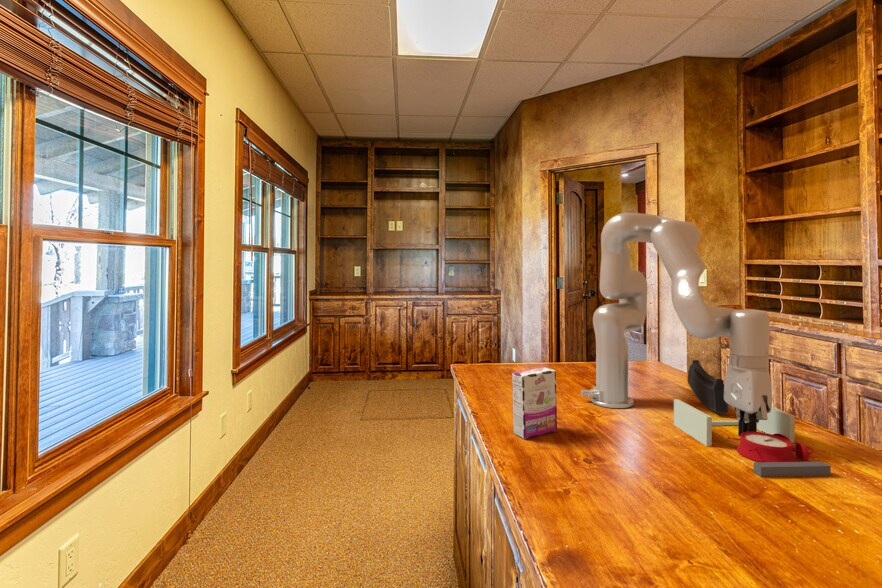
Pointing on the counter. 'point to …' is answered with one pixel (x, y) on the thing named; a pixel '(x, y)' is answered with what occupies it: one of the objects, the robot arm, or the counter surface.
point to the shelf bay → (728, 423)
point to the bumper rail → (791, 469)
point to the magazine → (707, 388)
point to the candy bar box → (534, 402)
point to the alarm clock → (770, 448)
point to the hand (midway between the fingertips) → (747, 437)
